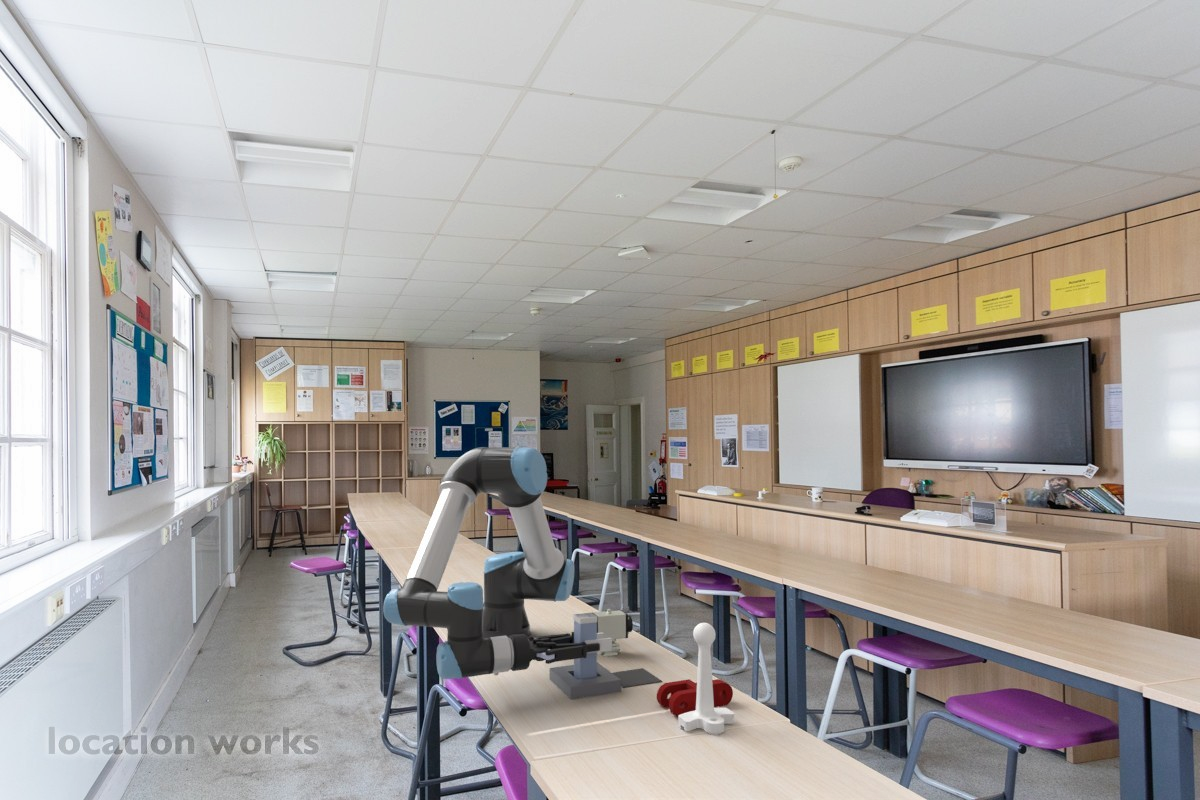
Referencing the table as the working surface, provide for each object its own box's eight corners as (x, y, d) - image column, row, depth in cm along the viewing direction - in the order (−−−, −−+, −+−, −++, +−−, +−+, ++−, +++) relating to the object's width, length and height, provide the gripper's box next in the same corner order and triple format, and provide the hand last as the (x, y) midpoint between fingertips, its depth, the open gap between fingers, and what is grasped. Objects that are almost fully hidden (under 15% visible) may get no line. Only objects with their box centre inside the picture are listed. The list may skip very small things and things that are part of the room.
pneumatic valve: (633, 655, 187) (633, 609, 188) (590, 660, 184) (590, 612, 184) (626, 649, 192) (626, 604, 193) (584, 653, 189) (584, 607, 190)
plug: (573, 680, 164) (573, 614, 165) (590, 678, 166) (590, 612, 167) (580, 686, 160) (580, 618, 161) (597, 683, 162) (597, 616, 163)
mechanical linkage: (673, 720, 145) (672, 695, 145) (656, 708, 152) (656, 684, 152) (739, 708, 151) (739, 684, 152) (720, 697, 158) (720, 674, 158)
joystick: (722, 716, 147) (722, 617, 148) (743, 730, 140) (742, 626, 141) (675, 725, 142) (674, 623, 143) (694, 739, 135) (693, 632, 136)
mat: (605, 676, 171) (605, 673, 171) (642, 670, 175) (642, 668, 175) (623, 689, 162) (623, 686, 162) (662, 683, 166) (662, 680, 166)
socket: (549, 681, 168) (549, 668, 168) (596, 674, 173) (596, 661, 173) (570, 701, 155) (570, 687, 155) (620, 693, 160) (620, 679, 160)
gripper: (498, 659, 164) (592, 647, 173) (520, 682, 149) (622, 668, 158) (499, 626, 165) (592, 616, 174) (520, 646, 149) (622, 634, 158)
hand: (606, 641), depth 166 cm, fingers closed on plug, 4 cm apart
